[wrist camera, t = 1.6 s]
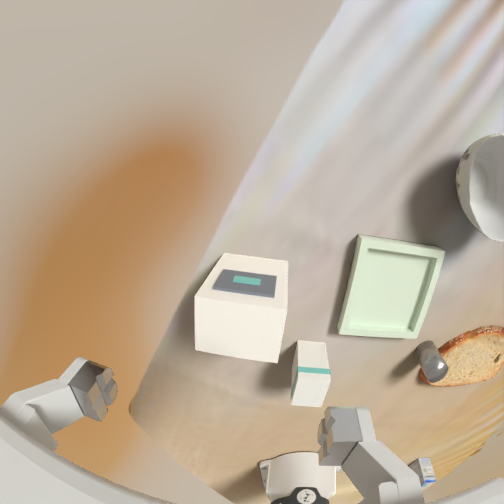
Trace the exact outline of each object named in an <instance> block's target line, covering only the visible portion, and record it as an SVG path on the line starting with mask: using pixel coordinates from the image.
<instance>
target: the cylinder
mask: <svg viewBox="0 0 504 504" xmlns="http://www.w3.org/2000/svg"><path fill="white" fill-rule="evenodd" d="M415 356H416V358H417V360H418V362H419V364H420V366H421V368H422V370H423V372H424V374H425V376H426V378H427V380H428V381H429V382H430V383H435V382H438V381H440V380H441V379H442V378H444V377H445V375H446V374H447V372H448V369H449V368H448V365H447V364H446V362H445V360H444V359H443V357H442V356H441V354H440V352H439V351H438V349H437V348H436V346H435V345H434V343H433V342H432V341H425V342H423V343H421V344H420V345H419V346H418V347H417V348H416V350H415Z"/></svg>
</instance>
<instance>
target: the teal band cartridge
mask: <svg viewBox="0 0 504 504" xmlns="http://www.w3.org/2000/svg"><path fill="white" fill-rule="evenodd" d="M330 382H331V378H330V369H329V364H328V357H327V350H326V344H325V343H322V342H311V341H301V340H298V341H297V346H296V350H295V355H294V359H293V364H292V383H291V405H298V406H312V407H321V406H322V403H323V401H324V398H325V396H326V393H327V390H328V388H329V385H330Z"/></svg>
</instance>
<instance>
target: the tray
mask: <svg viewBox="0 0 504 504" xmlns="http://www.w3.org/2000/svg"><path fill="white" fill-rule="evenodd" d="M444 255H445V251H444V250H442V249H441V248H439V247H436V246H430V245H425V244H419V243H412V242H406V241H400V240H394V239H387V238H381V237H374V236H368V235H361V234H358V237H357V242H356V247H355V252H354V257H353V262H352V267H351V271H350V276H349V280H348V285H347V289H346V293H345V297H344V301H343V305H342V309H341V313H340V317H339V321H338V324H337V328H338V332H339V334H342V335H355V336H370V337H389V338H417V336H418V333H419V331H420V328H421V326H422V323H423V321H424V318H425V315H426V313H427V310H428V307H429V304H430V301H431V298H432V295H433V292H434V289H435V286H436V283H437V280H438V276H439V273H440V270H441V266H442V262H443V259H444Z"/></svg>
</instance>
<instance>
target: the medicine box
mask: <svg viewBox="0 0 504 504" xmlns="http://www.w3.org/2000/svg"><path fill="white" fill-rule="evenodd" d="M408 467H409V468H410V469H411V470H413V471H414V472H415V473H416V474H417V475H418V476H419V480H420V484H421V489H422V491H423V490H425V489H426V488H428V487H429V486H430V485H432V484H433V483H434V482H436V479H435V475H434V472H433V468H432V465H431V461H430V458H418V459H417V460H416V461H414V462H413V463H412V464H411V465H410V466H408Z"/></svg>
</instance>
